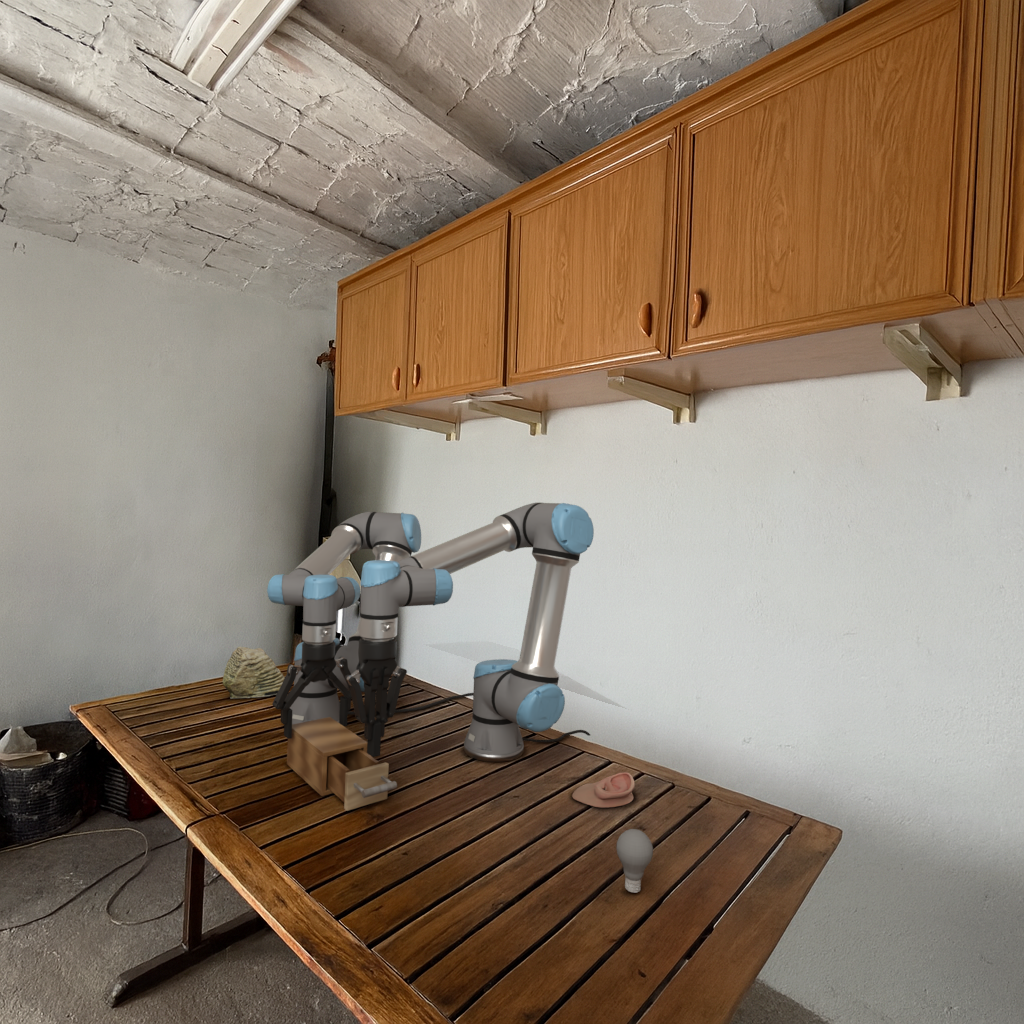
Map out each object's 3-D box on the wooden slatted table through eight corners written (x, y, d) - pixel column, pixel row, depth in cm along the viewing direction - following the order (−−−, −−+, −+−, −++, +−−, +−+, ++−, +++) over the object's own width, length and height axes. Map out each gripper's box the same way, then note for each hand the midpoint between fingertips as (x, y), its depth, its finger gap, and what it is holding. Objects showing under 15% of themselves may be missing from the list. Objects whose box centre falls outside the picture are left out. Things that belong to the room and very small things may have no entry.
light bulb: (610, 879, 108) (613, 822, 108) (644, 879, 109) (647, 822, 109) (619, 902, 102) (622, 840, 102) (655, 901, 103) (658, 840, 103)
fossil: (218, 695, 195) (220, 647, 195) (278, 685, 208) (279, 640, 207) (228, 703, 189) (230, 653, 188) (289, 692, 201) (290, 645, 201)
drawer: (400, 809, 128) (402, 773, 128) (359, 822, 122) (360, 784, 122) (347, 767, 146) (349, 736, 146) (309, 777, 140) (310, 744, 140)
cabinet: (366, 784, 141) (368, 742, 140) (321, 796, 134) (323, 753, 134) (328, 754, 156) (330, 716, 155) (286, 764, 149) (288, 725, 149)
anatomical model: (571, 785, 135) (576, 763, 146) (570, 803, 135) (575, 781, 146) (634, 793, 132) (635, 771, 144) (633, 812, 132) (634, 788, 144)
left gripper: (271, 651, 138) (268, 747, 139) (374, 638, 154) (371, 724, 155) (259, 644, 144) (256, 736, 144) (360, 632, 160) (357, 715, 161)
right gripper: (356, 645, 120) (352, 768, 121) (415, 637, 129) (411, 753, 129) (339, 637, 126) (334, 755, 126) (397, 631, 134) (392, 741, 135)
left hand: (316, 730), depth 150 cm, fingers open, 13 cm apart
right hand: (373, 753), depth 128 cm, fingers closed
